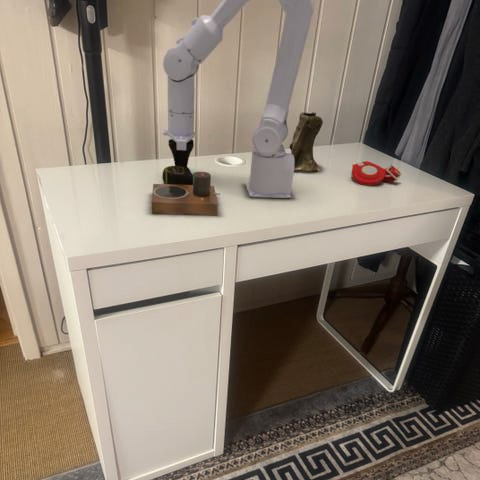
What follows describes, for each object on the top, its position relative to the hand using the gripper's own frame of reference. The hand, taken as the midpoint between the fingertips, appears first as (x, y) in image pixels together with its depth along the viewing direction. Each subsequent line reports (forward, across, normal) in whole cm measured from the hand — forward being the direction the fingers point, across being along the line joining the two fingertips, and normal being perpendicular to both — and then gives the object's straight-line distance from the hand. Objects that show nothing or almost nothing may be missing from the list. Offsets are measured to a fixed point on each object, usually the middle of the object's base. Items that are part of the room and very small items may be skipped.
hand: (181, 172), depth 109 cm
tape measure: (+2, +4, 0) cm, 5 cm away
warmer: (+1, +16, 0) cm, 16 cm away
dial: (-1, +16, +4) cm, 16 cm away
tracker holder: (+2, -3, +49) cm, 49 cm away
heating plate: (-1, +16, -2) cm, 16 cm away
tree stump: (+2, -12, +32) cm, 34 cm away
